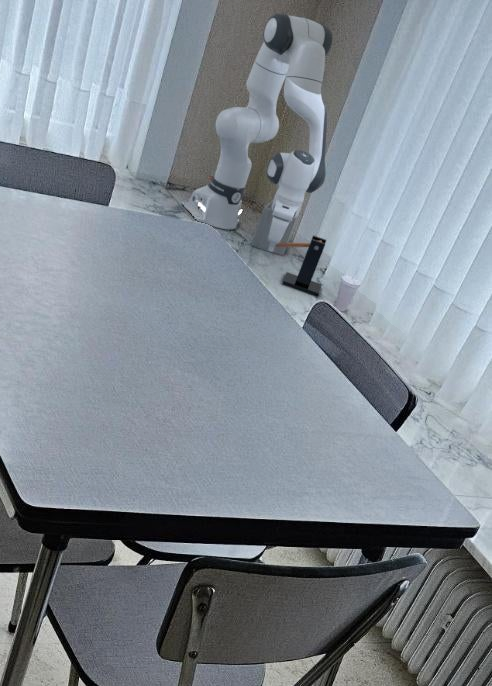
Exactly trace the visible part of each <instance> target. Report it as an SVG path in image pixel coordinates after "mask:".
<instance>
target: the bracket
mask: <svg viewBox="0 0 492 686" xmlns="http://www.w3.org/2000/svg"><path fill="white" fill-rule="evenodd" d="M317 240H322V242H320V241H317ZM309 243H310V246H309V247H307V250H306V253H305V256H304V258H303V261H302V263H301V266H300V269H299V271H298V274H294V273H292V272H291V273H290V272H288V271H286V272H285V274H284V278H283V281H282V283H281V284H282V285H283V286H285V287H289V288H290V289H291V288H292V289H294V290H297V291H300V292H303V293H305V294H308V295H311V296H314V297H317V298H318V297H319V295H320V292H321V290H322V289H321V288H322V283H319V282H316V281H314V280H313V278H314V274H315V272H316V269H317V268H318V264H319V262H320V259H321V256H322V254H323V252H324V249H325V248H326V247H325V246H326V243H327V239H326V238H323V237H320V236H317V235H312V237H311V240H310V242H309Z"/></svg>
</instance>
